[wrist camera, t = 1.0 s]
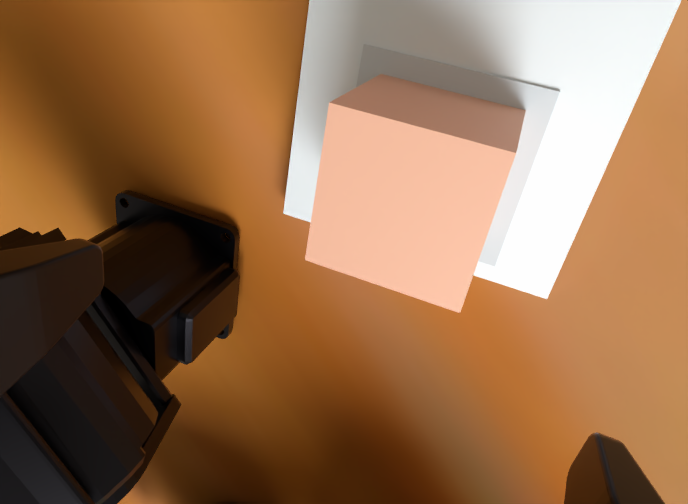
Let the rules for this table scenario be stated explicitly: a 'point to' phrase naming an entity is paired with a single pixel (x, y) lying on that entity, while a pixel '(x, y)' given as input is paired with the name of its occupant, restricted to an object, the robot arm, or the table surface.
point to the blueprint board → (494, 99)
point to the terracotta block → (410, 186)
